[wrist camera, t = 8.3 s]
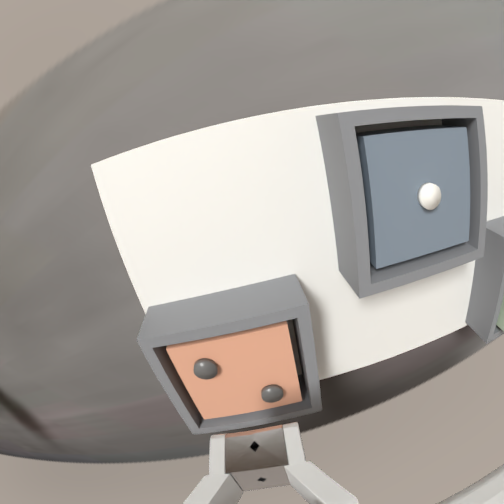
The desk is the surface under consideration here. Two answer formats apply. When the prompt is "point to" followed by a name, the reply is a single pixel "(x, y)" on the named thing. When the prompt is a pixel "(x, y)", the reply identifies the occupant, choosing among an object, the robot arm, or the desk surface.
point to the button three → (501, 317)
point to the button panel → (298, 242)
